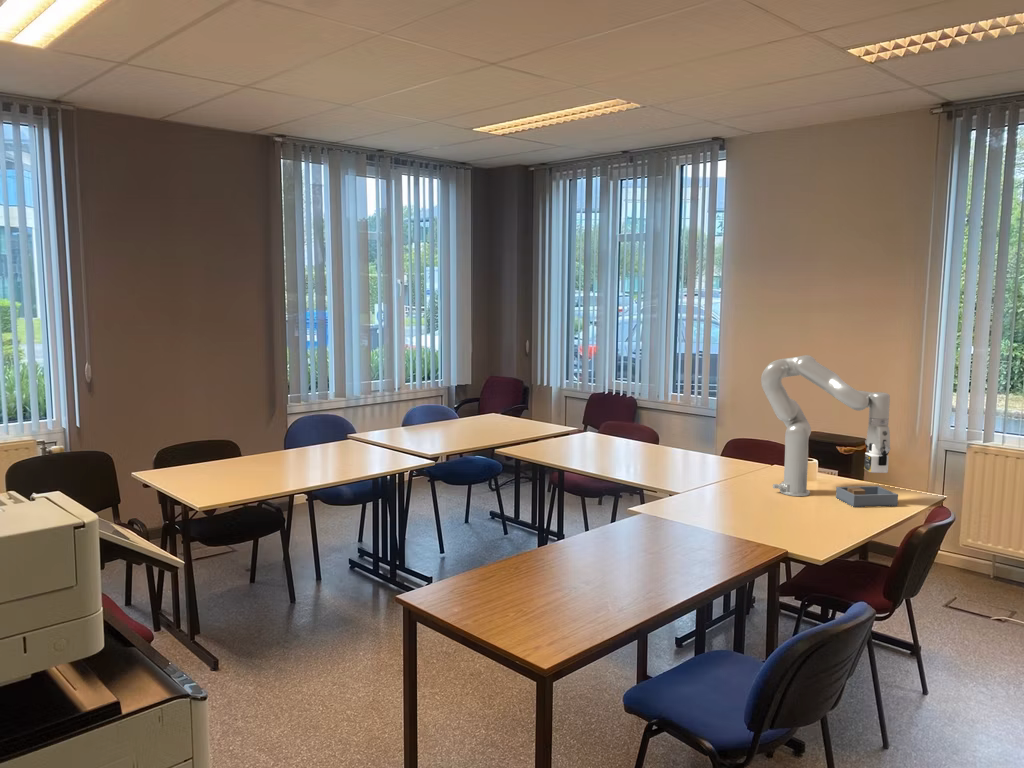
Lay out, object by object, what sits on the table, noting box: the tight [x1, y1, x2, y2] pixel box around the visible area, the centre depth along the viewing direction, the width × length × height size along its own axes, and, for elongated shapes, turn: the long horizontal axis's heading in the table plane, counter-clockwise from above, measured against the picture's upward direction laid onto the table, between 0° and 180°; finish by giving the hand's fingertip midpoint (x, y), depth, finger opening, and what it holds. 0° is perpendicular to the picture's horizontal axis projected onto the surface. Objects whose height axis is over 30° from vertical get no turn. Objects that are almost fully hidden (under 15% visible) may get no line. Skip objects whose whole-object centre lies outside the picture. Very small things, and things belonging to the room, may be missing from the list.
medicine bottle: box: [863, 443, 890, 474], centre depth 307 cm, size 7×7×12 cm
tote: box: [835, 485, 899, 508], centre depth 309 cm, size 19×14×5 cm
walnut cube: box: [848, 486, 866, 495], centre depth 308 cm, size 5×5×5 cm
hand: (876, 462), depth 308 cm, fingers closed on medicine bottle, 7 cm apart
